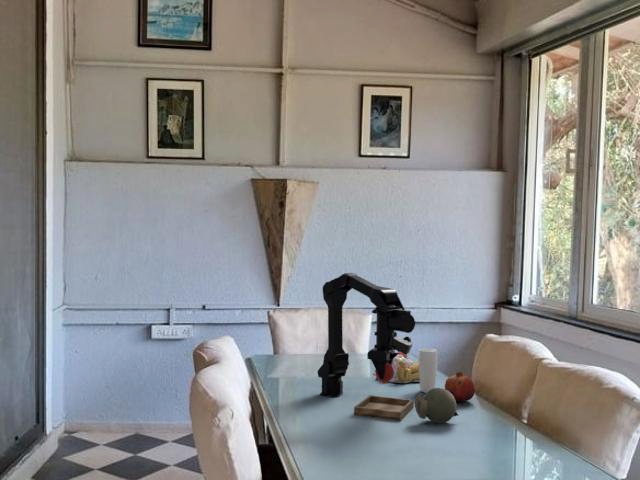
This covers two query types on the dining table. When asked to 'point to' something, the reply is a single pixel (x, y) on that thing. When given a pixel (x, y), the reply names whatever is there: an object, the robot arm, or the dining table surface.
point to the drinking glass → (427, 368)
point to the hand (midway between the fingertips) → (384, 377)
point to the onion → (387, 373)
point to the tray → (384, 407)
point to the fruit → (460, 387)
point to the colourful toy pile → (404, 369)
